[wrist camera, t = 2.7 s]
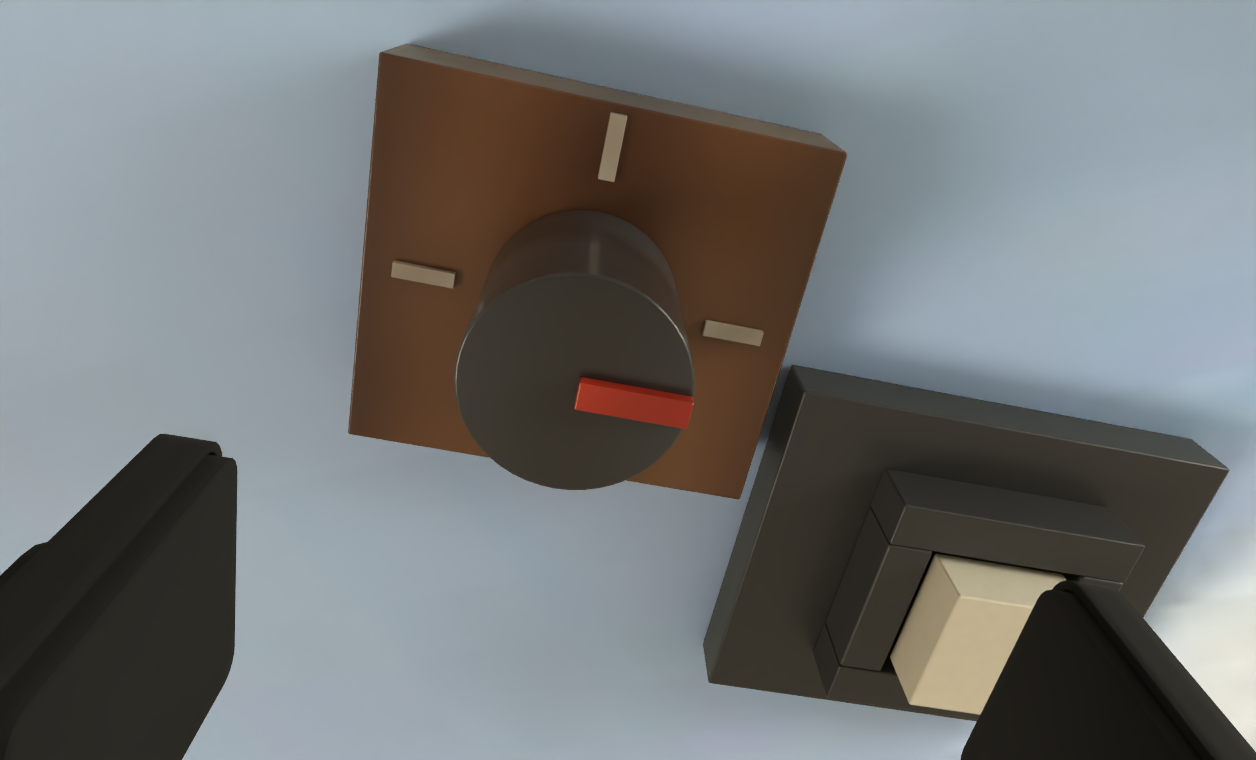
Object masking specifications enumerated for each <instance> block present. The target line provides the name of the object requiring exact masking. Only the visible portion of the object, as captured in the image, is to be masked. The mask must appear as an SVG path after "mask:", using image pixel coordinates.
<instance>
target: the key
mask: <svg viewBox="0 0 1256 760" xmlns="http://www.w3.org/2000/svg"><path fill="white" fill-rule="evenodd" d="M1065 580H1066V578H1065V577H1064V576H1063V575H1062V574H1059V573H1052V572H1046V571H1040V570H1034V569H1028V568H1022V567H1016V566H1010V565H1004V564H998V563H992V562H986V561H980V560H974V559H968V558H962V557H955V556H949V555H943V554H937V553H936V554H935V555H934V557H933V559H932V562H931V564H930V566H929V569H928V571H927V573H926V575H925V578H924V580H923V582H922V584H921V587H920V589H919V591H918V594H917V596H916V598H915V600H914V603H913V605H912V607H911V610H910V612H909V614H908V616H907V619H906V621H905V623H904V625H903V628H902V630H901V632H900V635H899V637H898V639H897V641H896V644H895V646H894V648H893V651H892V653H891V655H890V659H891V661H892V664H893V666H894V668H895V671H896V673H897V676H898V678H899V680H900V683H901V685H902V688H903V690H904V692H905V695H906V697H907V700H908V702H909V704H911V705H916V706H923V707H930V708H937V709H944V710H951V711H958V712H965V713H972V714H979V715H980V714H981V712H982V710H983V708H984V706H985V704H986V702H987V700H988V698H989V696H990V694H991V692H992V690H993V688H994V686H995V684H996V682H997V680H998V678H999V676H1000V674H1001V672H1002V670H1003V668H1004V666H1005V664H1006V662H1007V660H1008V658H1009V656H1010V654H1011V652H1012V650H1013V648H1014V646H1015V644H1016V642H1017V640H1018V637H1019V635H1020V633H1021V631H1022V629H1023V627H1024V625H1025V623H1026V621H1027V619H1028V617H1029V615H1030V613H1031V611H1032V609H1033V607H1034V605H1035V603H1036V601H1037V599H1038V598H1039V596H1040V595H1041V594H1042V593H1043V592H1044V591H1046V590H1052V589H1053V587H1054V586H1055V585H1056V584H1058V583H1059V582H1061V581H1065Z"/></svg>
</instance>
